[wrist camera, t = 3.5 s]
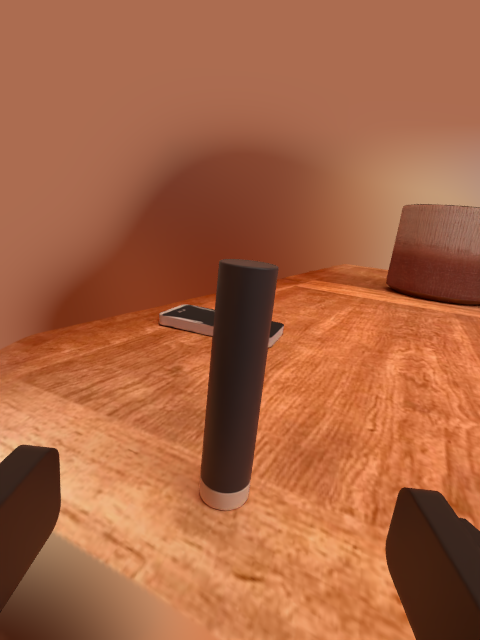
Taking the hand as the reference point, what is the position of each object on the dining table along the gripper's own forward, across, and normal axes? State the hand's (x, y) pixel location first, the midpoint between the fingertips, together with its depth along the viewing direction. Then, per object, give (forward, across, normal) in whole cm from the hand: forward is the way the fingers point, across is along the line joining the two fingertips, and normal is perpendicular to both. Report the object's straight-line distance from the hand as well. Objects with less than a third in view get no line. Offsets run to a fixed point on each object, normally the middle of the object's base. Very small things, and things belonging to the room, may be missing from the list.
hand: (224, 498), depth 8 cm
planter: (+90, -51, +8) cm, 103 cm away
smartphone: (+38, +2, +8) cm, 39 cm away
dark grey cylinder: (+9, 0, +7) cm, 11 cm away
